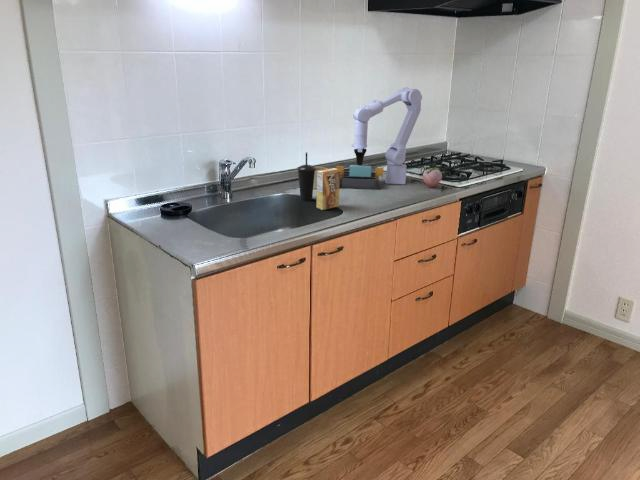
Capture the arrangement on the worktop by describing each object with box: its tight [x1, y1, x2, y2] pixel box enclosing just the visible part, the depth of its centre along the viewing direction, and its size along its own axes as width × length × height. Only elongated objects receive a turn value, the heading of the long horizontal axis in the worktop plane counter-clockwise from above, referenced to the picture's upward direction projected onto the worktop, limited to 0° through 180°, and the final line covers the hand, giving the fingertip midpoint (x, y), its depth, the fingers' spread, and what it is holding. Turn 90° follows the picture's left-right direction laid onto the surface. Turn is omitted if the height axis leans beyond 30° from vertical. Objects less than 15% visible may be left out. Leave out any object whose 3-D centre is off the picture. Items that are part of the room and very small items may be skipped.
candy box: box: [316, 167, 340, 211], centre depth 207 cm, size 9×4×15 cm, turn 129°
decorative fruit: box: [422, 166, 443, 188], centre depth 241 cm, size 9×8×10 cm
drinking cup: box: [296, 151, 316, 202], centre depth 217 cm, size 8×8×20 cm
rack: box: [335, 165, 384, 191], centre depth 243 cm, size 22×15×8 cm
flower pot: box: [313, 166, 328, 190], centre depth 237 cm, size 9×9×9 cm
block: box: [348, 164, 372, 177], centre depth 243 cm, size 10×2×8 cm, turn 85°
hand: (359, 164), depth 241 cm, fingers closed
